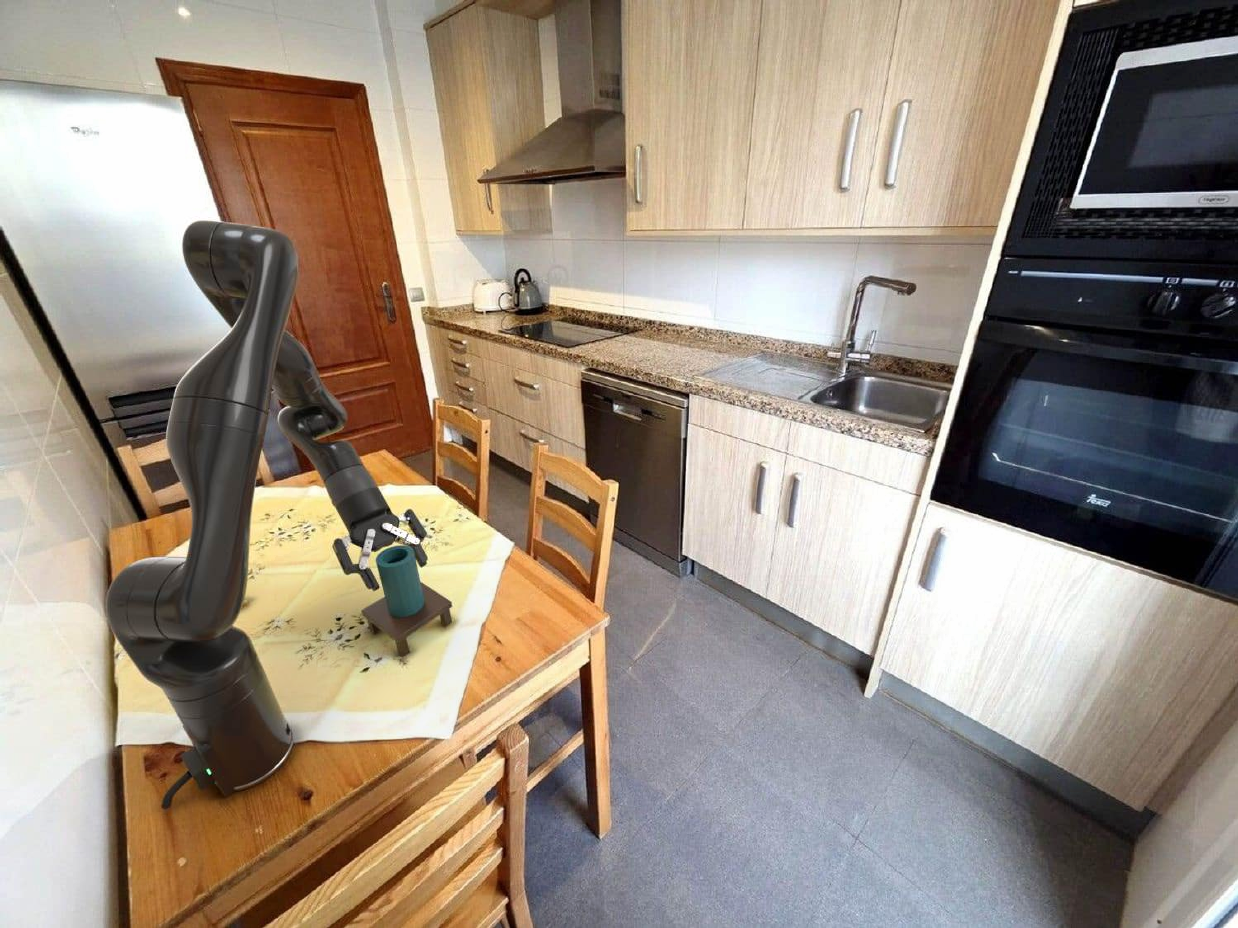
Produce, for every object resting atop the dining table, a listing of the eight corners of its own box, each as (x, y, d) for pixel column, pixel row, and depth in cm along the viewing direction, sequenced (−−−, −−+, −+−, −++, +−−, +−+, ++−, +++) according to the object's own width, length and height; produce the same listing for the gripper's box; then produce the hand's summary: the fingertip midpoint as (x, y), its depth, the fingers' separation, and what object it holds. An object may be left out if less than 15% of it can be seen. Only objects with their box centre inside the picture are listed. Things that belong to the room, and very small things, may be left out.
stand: (402, 660, 85) (396, 638, 83) (366, 631, 91) (360, 610, 89) (455, 622, 93) (451, 601, 91) (419, 598, 99) (415, 578, 97)
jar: (401, 622, 86) (388, 571, 81) (381, 607, 89) (368, 557, 85) (431, 603, 91) (421, 553, 86) (411, 589, 94) (400, 541, 89)
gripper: (316, 505, 81) (363, 592, 79) (400, 474, 90) (444, 552, 89) (311, 520, 86) (356, 603, 84) (391, 490, 96) (433, 564, 94)
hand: (401, 577), depth 87 cm, fingers open, 8 cm apart
